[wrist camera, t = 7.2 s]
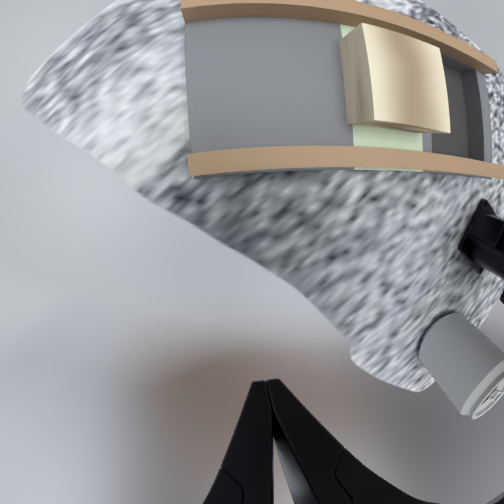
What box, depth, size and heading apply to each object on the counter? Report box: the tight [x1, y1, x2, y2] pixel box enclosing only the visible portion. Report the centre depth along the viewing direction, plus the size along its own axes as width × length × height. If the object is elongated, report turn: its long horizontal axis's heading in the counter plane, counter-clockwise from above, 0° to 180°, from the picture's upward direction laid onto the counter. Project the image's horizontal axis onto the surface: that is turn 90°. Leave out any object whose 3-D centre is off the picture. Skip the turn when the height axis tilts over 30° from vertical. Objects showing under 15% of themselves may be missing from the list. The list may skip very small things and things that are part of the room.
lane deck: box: [181, 0, 504, 179], centre depth 15 cm, size 26×12×4 cm, turn 94°
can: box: [419, 312, 504, 419], centre depth 21 cm, size 8×8×12 cm
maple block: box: [339, 23, 450, 133], centre depth 13 cm, size 6×6×4 cm
